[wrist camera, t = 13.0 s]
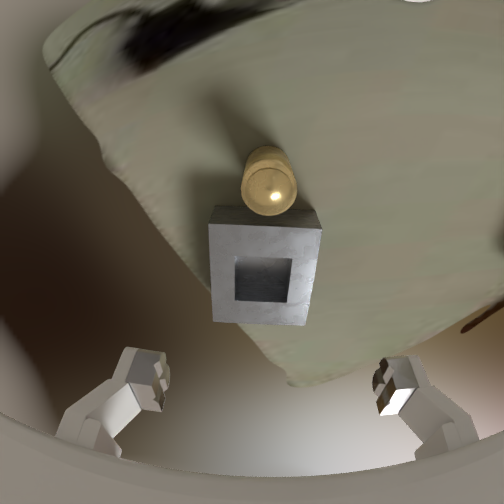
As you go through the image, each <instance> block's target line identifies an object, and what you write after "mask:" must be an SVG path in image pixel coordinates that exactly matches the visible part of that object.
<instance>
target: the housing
mask: <svg viewBox="0 0 504 504" xmlns="http://www.w3.org/2000/svg"><path fill="white" fill-rule="evenodd" d="M208 227H209V253H210V274H211V293H212V310H213V321H214V322H229V323H247V324H271V325H305V323H306V318H307V313H308V308H309V303H310V297H311V292H312V287H313V281H314V275H315V270H316V264H317V258H318V252H319V246H320V240H321V233H322V228H321V225H320V222H319V220H318V217H317V214H316V212H315V211H313V210H297V209H287V210H286V211H284V212H282V213H280V214H277V215H272V216H266V215H261V214H258V213H256V212H254V211H252V210H251V209H250V208H249V207H235V206H215V207H214V210H213V213H212V215H211V218H210V221H209V224H208Z"/></svg>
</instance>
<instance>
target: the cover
mask: <svg viewBox="0 0 504 504" xmlns="http://www.w3.org/2000/svg"><path fill="white" fill-rule="evenodd" d="M241 194H242V198H243V200H244V202H245V204H246V205H247V206H248V207H249V208H250V209H251V210H252V211H254V212H256V213H258V214H261V215H266V216H272V215H277V214H280V213H282V212H284V211H286V210H287V209H288V208H289V207H290V206H291V205H292V204H293V202H294V201H295V199H296V195H297V183H296V180H295V177H294V174H293V171H292V168H291V165H290V162H289V159H288V157H287V155H286V154H285V153H284V152H283V151H282V150H281V149H279V148H277V147H274V146H262V147H259V148H257V149H255V150H254V151H253V152H252V153H251V154H250V155H249V157H248V158H247V161H246V166H245V170H244V175H243V179H242V184H241Z"/></svg>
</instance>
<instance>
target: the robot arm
mask: <svg viewBox="0 0 504 504" xmlns="http://www.w3.org/2000/svg"><path fill="white" fill-rule="evenodd" d="M406 1H411V2H426V1H430V0H406ZM165 362H166V355H165V353H163V352H157V351H150V350H144V349H138V348H131V347H126V348H125V349H124V351H123V353H122V355H121V358H120V360H119V363H118V365H117V367H116V370H115V372H114V375H113V377H112V380H111V379H108V380H106V381H105V382H104V383H102V384H101V385H99V386H98V387H97V388H95V389H94V390H93V391H91V392H90V393H89V394H87V395H86V396H84V397H83V398H82V399H80V400H79V401H78V402H76V403H75V404H73V405H72V406H71V407H69V408H68V409H66V411H65V413H64V416H63V418H62V420H61V423H60V425H59V428H58V430H57V433H56V435H55V437H54V436H51V435H49V434H47V433H44V432H42V431H39V430H37V429H35V428H32V427H30V426H28V425H26V424H23V423H21V422H19V421H17V420H15V419H13V418H11V417H9V416H7V415H5V414H3V413H1V412H0V504H504V430H503V431H501V432H499V433H497V434H494V435H492V436H490V437H487V438H484V439H482V440H479V437H478V435H477V432H476V429H475V427H474V424H473V421H472V418H471V416H470V415H469V414H468V413H467V412H465V411H464V410H463V409H462V408H460V407H459V406H458V405H457V404H456V403H454V402H453V401H452V400H451V399H450V398H448V397H447V396H446V395H445V394H443V393H442V392H441V391H440V390H439V389H437V388H436V387H435V386H431V385H430V382H429V380H428V377H427V375H426V373H425V370H424V367H423V365H422V363H421V361H420V358H419V356H418V355H409V356H396V357H384V358H382V359H381V361H380V363H379V365H380V368H379V369H377V370H376V371H375V373H374V375H373V380H372V386H373V391H374V393H375V394H376V395H377V396H378V399H377V401H376V403H377V407H378V411H379V415H388V414H397V413H398V415H399V416H400V417H401V418H402V419H403V421H404V422H405V423H406V424H407V425H408V426H409V427H410V429H411V430H412V431H413V432H414V433H415V434H416V435H417V436H418V438H419V439H420V440H421V441H422V442H423V444H422V445H421V446H420V447H419V448H418V449H417V450H416V451H415V458H416V460H415V461H410V462H406V463H402V464H397V465H392V466H387V467H382V468H376V469H370V470H364V471H357V472H349V473H341V474H331V475H319V476H302V477H245V476H228V475H215V474H206V473H197V472H190V471H182V470H176V469H170V468H164V467H158V466H154V465H149V464H144V463H139V462H135V461H131V460H126V459H123V458H120V455H121V451H122V450H121V448H120V447H119V445H118V444H117V443H116V442H115V441H114V439H113V438H114V437H115V436H116V435H117V434H118V433H119V432H120V431H121V430H122V428H124V427H125V426H126V425H127V424H128V423H129V422H130V421H131V420H132V419H133V418H134V417H135V416H136V415H137V414H138V413H139V412H140V411H141V409H145V410H152V411H158V412H162V409H163V406H164V402H165V395H164V391H165V390H166V389H168V386H169V380H170V370H169V366H168V365H167V364H166V363H165Z"/></svg>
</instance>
